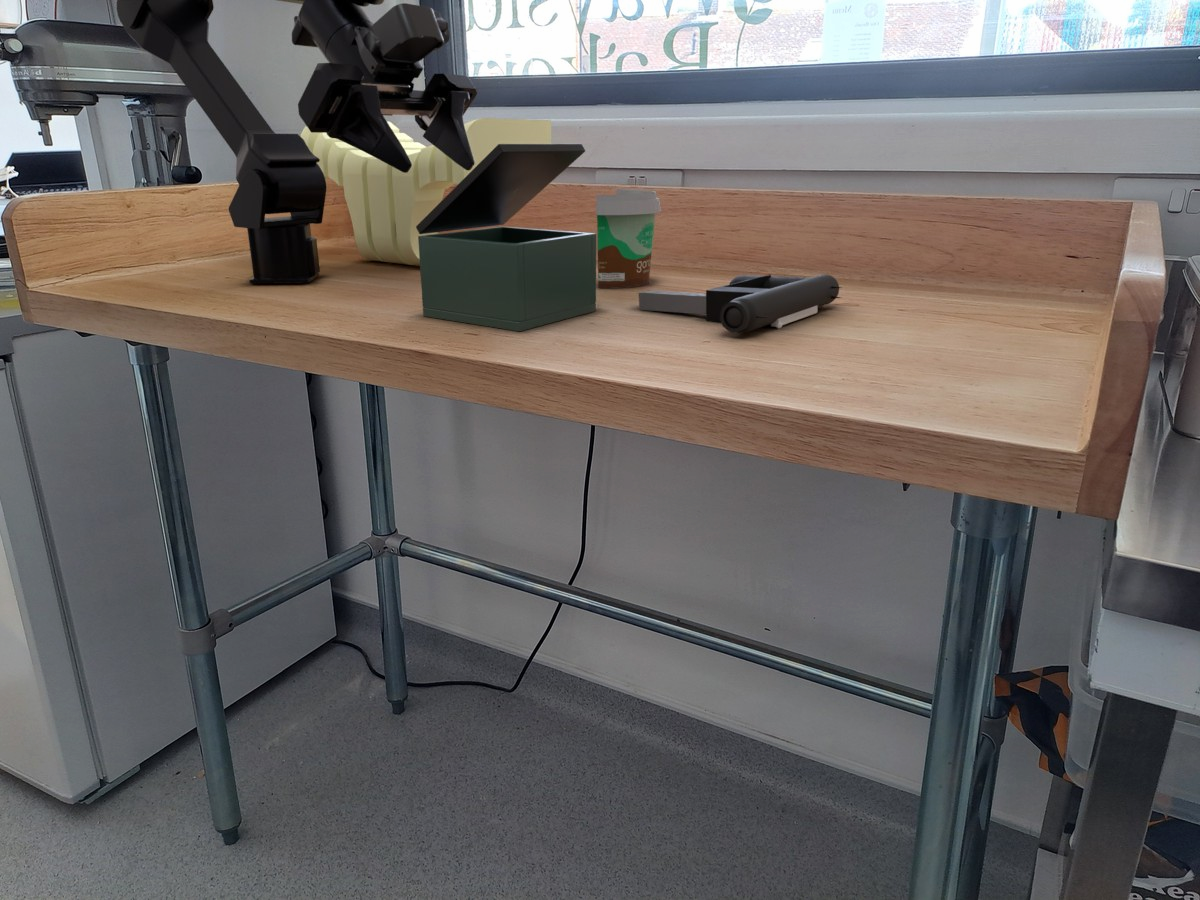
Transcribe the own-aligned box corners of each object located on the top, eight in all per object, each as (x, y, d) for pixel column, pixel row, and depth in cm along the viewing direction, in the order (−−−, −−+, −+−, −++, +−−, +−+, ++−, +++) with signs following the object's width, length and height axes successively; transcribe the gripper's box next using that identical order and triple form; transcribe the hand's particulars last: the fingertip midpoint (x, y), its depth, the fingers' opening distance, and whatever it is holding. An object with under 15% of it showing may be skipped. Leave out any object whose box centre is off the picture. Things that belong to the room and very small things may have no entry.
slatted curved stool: (310, 257, 118) (296, 119, 112) (399, 246, 130) (389, 121, 124) (468, 277, 101) (461, 117, 95) (552, 263, 114) (550, 120, 108)
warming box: (596, 311, 82) (596, 233, 80) (519, 331, 73) (517, 244, 71) (504, 298, 88) (501, 226, 86) (423, 316, 79) (417, 235, 77)
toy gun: (601, 292, 78) (761, 301, 69) (711, 268, 93) (855, 273, 84) (603, 328, 79) (761, 342, 70) (711, 299, 94) (853, 307, 85)
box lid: (586, 151, 78) (581, 143, 78) (503, 152, 69) (498, 143, 69) (503, 225, 86) (499, 218, 86) (419, 234, 77) (415, 226, 77)
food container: (650, 291, 93) (653, 196, 89) (595, 289, 94) (595, 195, 90) (665, 275, 104) (668, 189, 101) (615, 273, 105) (616, 188, 102)
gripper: (304, -44, 71) (407, 98, 69) (459, -12, 85) (548, 106, 83) (257, 63, 78) (350, 195, 76) (408, 75, 92) (489, 187, 90)
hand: (441, 168), depth 81 cm, fingers open, 8 cm apart
